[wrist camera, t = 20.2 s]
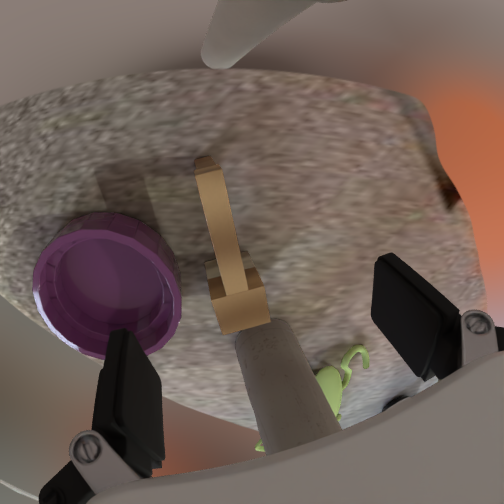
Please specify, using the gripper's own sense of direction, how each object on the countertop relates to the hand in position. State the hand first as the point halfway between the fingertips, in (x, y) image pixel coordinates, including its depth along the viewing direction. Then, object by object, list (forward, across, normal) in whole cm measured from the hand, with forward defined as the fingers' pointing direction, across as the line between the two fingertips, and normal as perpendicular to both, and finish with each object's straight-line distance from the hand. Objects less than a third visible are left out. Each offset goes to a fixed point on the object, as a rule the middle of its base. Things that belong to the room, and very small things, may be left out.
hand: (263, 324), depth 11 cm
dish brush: (+20, 0, +5) cm, 21 cm away
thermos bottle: (+20, -2, +22) cm, 30 cm away
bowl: (+20, +13, +7) cm, 25 cm away
